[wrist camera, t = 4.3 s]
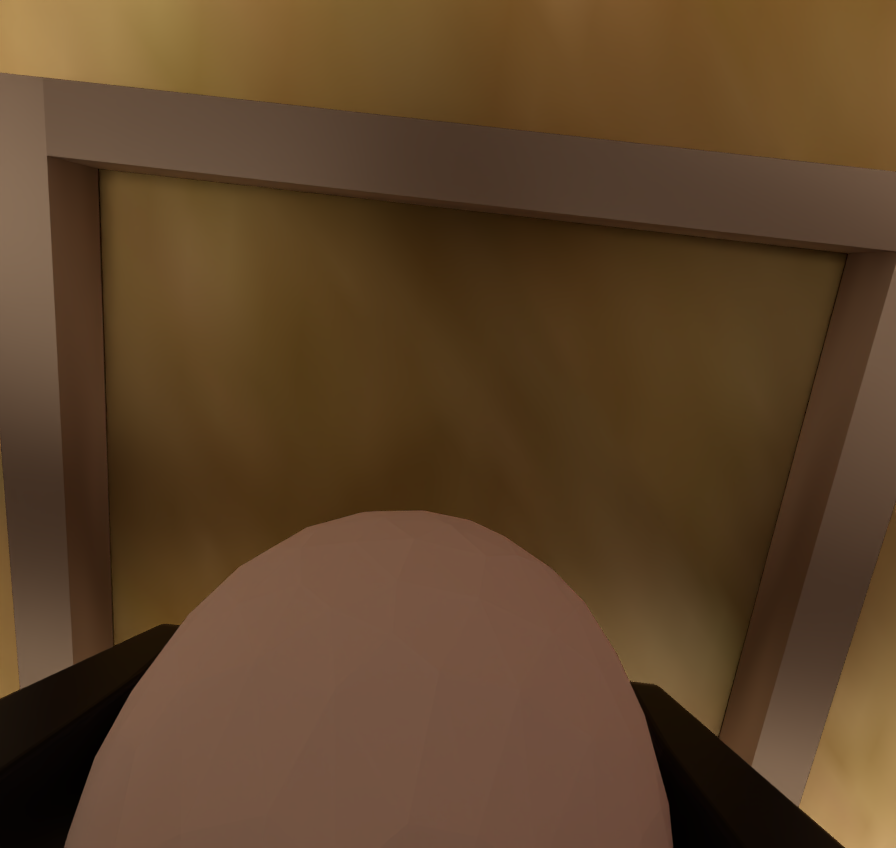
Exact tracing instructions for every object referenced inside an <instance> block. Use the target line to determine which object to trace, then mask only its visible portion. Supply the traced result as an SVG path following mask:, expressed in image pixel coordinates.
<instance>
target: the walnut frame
mask: <svg viewBox="0 0 896 848" xmlns="http://www.w3.org/2000/svg"><path fill="white" fill-rule="evenodd" d="M98 169H106V170H115V171H124V172H133V173H141V174H150V175H159V176H168V177H177V178H186V179H195V180H203V181H212V182H221V183H230V184H239V185H248V186H257V187H265V188H274V189H283V190H292V191H301V192H310V193H318V194H327V195H336V196H345V197H354V198H363V199H372V200H380V201H389V202H398V203H407V204H416V205H425V206H434V207H442V208H451V209H460V210H469V211H478V212H487V213H496V214H504V215H513V216H522V217H531V218H540V219H549V220H557V221H566V222H575V223H584V224H593V225H602V226H611V227H619V228H628V229H637V230H646V231H655V232H664V233H673V234H681V235H690V236H699V237H708V238H717V239H726V240H734V241H743V242H752V243H761V244H770V245H779V246H788V247H796V248H805V249H814V250H823V251H832V252H841V253H848V257H847V261H846V265H845V268H844V272H843V276H842V280H841V283H840V287H839V291H838V295H837V298H836V302H835V306H834V310H833V313H832V317H831V321H830V324H829V328H828V332H827V336H826V339H825V343H824V347H823V351H822V354H821V358H820V362H819V366H818V369H817V373H816V377H815V381H814V384H813V388H812V392H811V396H810V399H809V403H808V407H807V411H806V414H805V418H804V422H803V426H802V429H801V433H800V437H799V440H798V444H797V448H796V452H795V455H794V459H793V463H792V467H791V470H790V474H789V478H788V482H787V485H786V489H785V493H784V497H783V500H782V504H781V508H780V512H779V515H778V519H777V523H776V527H775V530H774V534H773V538H772V542H771V545H770V549H769V553H768V557H767V560H766V564H765V568H764V571H763V575H762V579H761V583H760V586H759V590H758V594H757V598H756V601H755V605H754V609H753V613H752V616H751V620H750V624H749V628H748V631H747V635H746V639H745V643H744V646H743V650H742V654H741V658H740V661H739V665H738V669H737V673H736V676H735V680H734V684H733V688H732V691H731V695H730V699H729V702H728V706H727V710H726V714H725V717H724V721H723V725H722V729H721V732H720V736H719V739H720V740H721V741H723V742H724V743H725V744H726V745H727V746H728V747H730V748H731V749H732V750H733V751H734V752H735V753H736V754H738V755H739V756H740V757H741V758H742V759H743V760H745V761H746V762H747V763H748V764H749V765H750V766H751V767H753V768H754V769H755V770H756V771H757V772H758V773H759V774H761V775H762V776H763V777H764V778H765V779H766V780H768V781H769V782H770V783H771V784H772V785H773V786H774V787H776V788H777V789H778V790H779V791H780V792H781V793H783V794H784V795H785V796H786V797H787V798H788V799H789V800H791V801H792V802H793V803H794V804H795V805H796V806H798V807H799V804H800V801H801V798H802V795H803V792H804V788H805V785H806V782H807V779H808V776H809V773H810V770H811V766H812V763H813V760H814V757H815V754H816V751H817V748H818V744H819V741H820V738H821V735H822V732H823V729H824V726H825V722H826V719H827V716H828V713H829V710H830V707H831V703H832V700H833V697H834V694H835V691H836V688H837V685H838V681H839V678H840V675H841V672H842V669H843V666H844V663H845V659H846V656H847V653H848V650H849V647H850V644H851V641H852V637H853V634H854V631H855V628H856V625H857V622H858V618H859V615H860V612H861V609H862V606H863V603H864V600H865V596H866V593H867V590H868V587H869V584H870V581H871V578H872V574H873V571H874V568H875V565H876V562H877V559H878V556H879V552H880V549H881V546H882V543H883V540H884V537H885V533H886V530H887V527H888V524H889V521H890V518H891V515H892V511H893V508H894V505H895V502H896V172H894V171H885V170H876V169H867V168H858V167H849V166H840V165H831V164H822V163H813V162H804V161H795V160H786V159H777V158H768V157H758V156H749V155H740V154H731V153H722V152H713V151H704V150H695V149H686V148H677V147H668V146H659V145H650V144H641V143H632V142H623V141H614V140H605V139H596V138H587V137H577V136H568V135H559V134H550V133H541V132H532V131H523V130H514V129H505V128H496V127H487V126H478V125H469V124H460V123H451V122H442V121H433V120H424V119H415V118H405V117H396V116H387V115H378V114H369V113H360V112H351V111H342V110H333V109H324V108H315V107H306V106H297V105H288V104H279V103H270V102H261V101H252V100H243V99H233V98H224V97H215V96H206V95H197V94H188V93H179V92H170V91H161V90H152V89H143V88H134V87H125V86H116V85H107V84H98V83H89V82H80V81H71V80H61V79H52V78H43V77H34V76H25V75H16V74H7V73H0V439H1V452H2V465H3V478H4V491H5V503H6V516H7V529H8V542H9V554H10V567H11V580H12V593H13V605H14V618H15V631H16V644H17V656H18V669H19V682H20V689H22V688H24V687H26V686H29V685H31V684H33V683H35V682H37V681H39V680H42V679H44V678H46V677H48V676H50V675H52V674H55V673H57V672H59V671H61V670H63V669H65V668H68V667H70V666H72V665H74V664H76V663H78V662H81V661H83V660H85V659H87V658H89V657H91V656H94V655H96V654H98V653H100V652H102V651H104V650H107V649H109V648H111V647H113V624H112V593H111V562H110V531H109V501H108V470H107V439H106V408H105V377H104V347H103V316H102V285H101V254H100V223H99V193H98Z"/></svg>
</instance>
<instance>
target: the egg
mask: <svg viewBox="0 0 896 848" xmlns="http://www.w3.org/2000/svg"><path fill="white" fill-rule="evenodd" d="M64 848H673V840H672V830H671V820H670V810H669V803H668V799H667V795H666V792H665V788H664V784H663V781H662V777H661V773H660V770H659V766H658V762H657V759H656V755H655V751H654V748H653V744H652V740H651V737H650V733H649V730H648V726H647V722H646V719H645V715H644V713H643V711H642V708H641V706H640V704H639V702H638V699H637V697H636V695H635V693H634V691H633V688H632V686H631V684H630V682H629V680H628V677H627V675H626V673H625V671H624V669H623V666H622V664H621V662H620V660H619V657H618V655H617V653H616V652H615V650H614V648H613V647H612V645H611V644H610V642H609V640H608V639H607V637H606V636H605V634H604V632H603V631H602V629H601V628H600V626H599V624H598V623H597V621H596V620H595V618H594V616H593V615H592V613H591V612H590V610H589V608H588V607H587V605H586V604H585V602H584V601H583V600H582V599H581V598H580V597H579V596H578V595H577V594H576V593H575V592H574V591H573V590H572V589H571V588H570V587H569V586H568V585H567V584H566V583H565V582H564V580H563V579H562V578H561V577H560V576H559V575H558V574H557V573H556V572H555V571H554V570H553V569H552V568H550V567H549V566H547V565H546V564H545V563H543V562H542V561H540V560H539V559H537V558H536V557H534V556H533V555H531V554H530V553H528V552H527V551H525V550H524V549H523V548H521V547H520V546H518V545H517V544H515V543H514V542H512V541H511V540H509V539H508V538H506V537H505V536H503V535H501V534H499V533H497V532H495V531H492V530H490V529H488V528H486V527H484V526H482V525H480V524H478V523H475V522H473V521H471V520H467V519H462V518H458V517H453V516H448V515H443V514H438V513H433V512H429V511H424V510H419V511H371V512H361V513H357V514H354V515H350V516H346V517H343V518H339V519H335V520H332V521H328V522H324V523H321V524H317V525H313V526H310V527H306V528H305V529H303V530H301V531H300V532H298V533H296V534H294V535H293V536H291V537H289V538H287V539H286V540H284V541H282V542H281V543H279V544H277V545H275V546H274V547H272V548H270V549H268V550H267V551H265V552H263V553H262V554H260V555H258V556H257V557H255V558H253V559H252V560H250V561H248V562H247V563H245V564H243V565H242V566H240V567H238V568H237V569H236V570H235V571H234V572H233V573H232V574H231V575H230V576H229V577H228V578H227V579H226V580H225V581H224V582H222V583H221V584H220V585H219V586H218V587H217V588H216V589H215V590H214V591H213V592H212V593H211V594H210V595H209V596H208V597H207V598H206V599H204V600H203V601H202V602H201V603H200V604H199V605H198V606H197V607H196V608H195V609H194V610H193V611H192V612H191V613H190V614H189V615H188V616H187V617H186V619H185V620H184V621H183V623H182V624H181V625H180V627H179V628H178V629H177V631H176V632H175V633H174V635H173V636H172V637H171V639H170V640H169V642H168V643H167V644H166V646H165V647H164V648H163V650H162V651H161V652H160V654H159V655H158V656H157V658H156V659H155V660H154V662H153V663H152V664H151V666H150V667H149V669H148V670H147V671H146V673H145V674H144V675H143V677H142V678H141V679H140V681H139V682H138V683H137V685H136V686H135V687H134V689H133V690H132V692H131V693H130V695H129V697H128V699H127V701H126V702H125V704H124V706H123V708H122V709H121V711H120V713H119V715H118V717H117V718H116V720H115V722H114V724H113V726H112V727H111V729H110V731H109V733H108V735H107V736H106V738H105V740H104V742H103V744H102V745H101V747H100V749H99V751H98V753H97V754H96V756H95V758H94V761H93V764H92V767H91V770H90V772H89V775H88V778H87V781H86V784H85V787H84V789H83V792H82V795H81V798H80V801H79V804H78V807H77V809H76V812H75V815H74V818H73V821H72V824H71V826H70V829H69V832H68V835H67V839H66V842H65V846H64Z"/></svg>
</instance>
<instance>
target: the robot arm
mask: <svg viewBox="0 0 896 848" xmlns="http://www.w3.org/2000/svg"><path fill="white" fill-rule="evenodd" d="M179 627H180V625H173V624H161V625H159V626H156V627H154V628H152V629H150V630H148V631H146V632H143V633H141V634H139V635H137V636H135V637H133V638H130V639H128V640H126V641H124V642H122V643H120V644H117V645H115V646H113V647H111V648H109V649H107V650H104V651H102V652H100V653H98V654H96V655H94V656H91V657H89V658H87V659H85V660H83V661H81V662H78V663H76V664H74V665H72V666H70V667H68V668H65V669H63V670H61V671H59V672H57V673H55V674H52V675H50V676H48V677H46V678H44V679H42V680H39V681H37V682H35V683H33V684H31V685H29V686H26V687H24V688H22V689H20V690H18V691H16V692H13V693H11V694H9V695H7V696H5V697H3V698H0V848H64V846H65V842H66V839H67V835H68V832H69V829H70V826H71V824H72V821H73V818H74V815H75V812H76V809H77V807H78V804H79V801H80V798H81V795H82V792H83V789H84V787H85V784H86V781H87V778H88V775H89V772H90V770H91V767H92V764H93V761H94V758H95V756H96V754H97V753H98V751H99V749H100V747H101V745H102V744H103V742H104V740H105V738H106V736H107V735H108V733H109V731H110V729H111V727H112V726H113V724H114V722H115V720H116V718H117V717H118V715H119V713H120V711H121V709H122V708H123V706H124V704H125V702H126V701H127V699H128V697H129V695H130V693H131V692H132V690H133V689H134V687H135V686H136V685H137V683H138V682H139V681H140V679H141V678H142V677H143V675H144V674H145V673H146V671H147V670H148V669H149V667H150V666H151V664H152V663H153V662H154V660H155V659H156V658H157V656H158V655H159V654H160V652H161V651H162V650H163V648H164V647H165V646H166V644H167V643H168V642H169V640H170V639H171V637H172V636H173V635H174V633H175V632H176V631H177V629H178V628H179ZM629 682H630V684H631V686H632V688H633V691H634V693H635V695H636V697H637V699H638V702H639V704H640V706H641V708H642V711H643V713H644V715H645V719H646V722H647V726H648V730H649V733H650V737H651V740H652V744H653V748H654V751H655V755H656V759H657V762H658V766H659V770H660V773H661V777H662V781H663V784H664V788H665V792H666V795H667V799H668V803H669V810H670V820H671V830H672V840H673V848H845V847H844V846H842V845H841V844H840V843H839V842H838V841H837V840H836V839H834V838H833V837H832V836H831V835H830V834H829V833H827V832H826V831H825V830H824V829H823V828H822V827H821V826H819V825H818V824H817V823H816V822H815V821H814V820H812V819H811V818H810V817H809V816H808V815H807V814H806V813H804V812H803V811H802V810H801V809H800V808H799V807H798V806H796V805H795V804H794V803H793V802H792V801H791V800H789V799H788V798H787V797H786V796H785V795H784V794H783V793H781V792H780V791H779V790H778V789H777V788H776V787H774V786H773V785H772V784H771V783H770V782H769V781H768V780H766V779H765V778H764V777H763V776H762V775H761V774H759V773H758V772H757V771H756V770H755V769H754V768H753V767H751V766H750V765H749V764H748V763H747V762H746V761H745V760H743V759H742V758H741V757H740V756H739V755H738V754H736V753H735V752H734V751H733V750H732V749H731V748H730V747H728V746H727V745H726V744H725V743H724V742H723V741H721V740H720V739H719V738H718V737H717V736H716V735H715V734H713V733H712V732H711V731H710V730H709V729H708V728H707V727H705V726H704V725H703V724H702V723H701V722H700V721H698V720H697V719H696V718H695V717H694V716H693V715H692V714H690V713H689V712H688V711H687V710H686V709H685V708H683V707H682V706H681V705H680V704H679V703H678V702H677V701H675V700H674V699H673V698H672V697H671V696H670V695H668V694H667V693H666V692H665V691H664V690H663V689H662V688H660V687H659V686H657V685H654V684H647V683H639V682H631V681H629Z"/></svg>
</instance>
